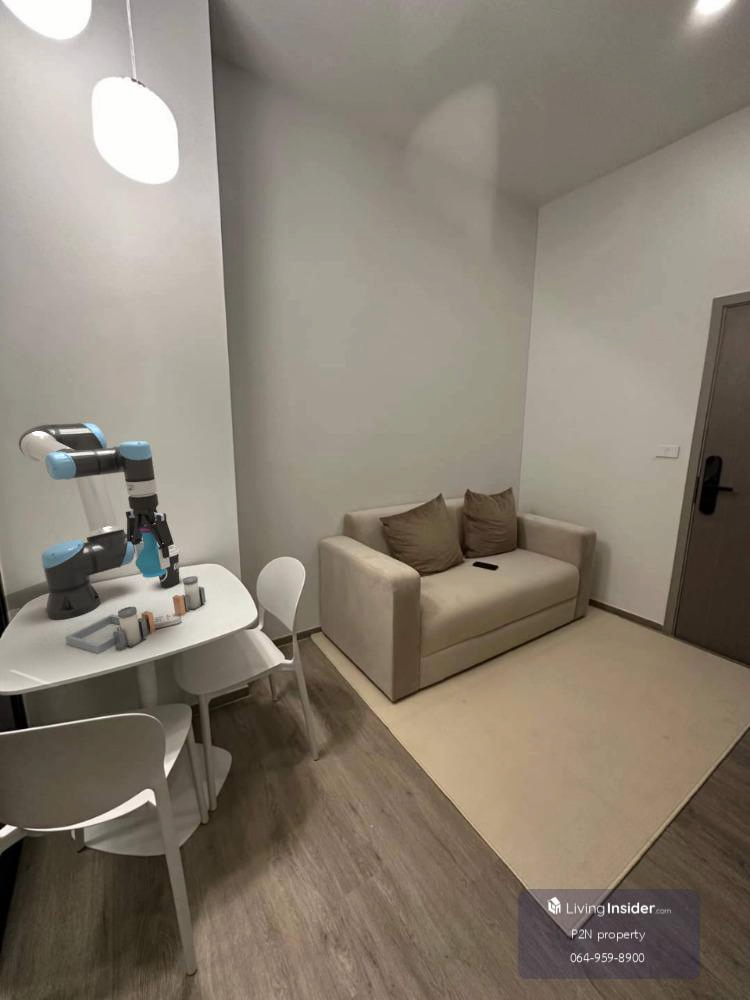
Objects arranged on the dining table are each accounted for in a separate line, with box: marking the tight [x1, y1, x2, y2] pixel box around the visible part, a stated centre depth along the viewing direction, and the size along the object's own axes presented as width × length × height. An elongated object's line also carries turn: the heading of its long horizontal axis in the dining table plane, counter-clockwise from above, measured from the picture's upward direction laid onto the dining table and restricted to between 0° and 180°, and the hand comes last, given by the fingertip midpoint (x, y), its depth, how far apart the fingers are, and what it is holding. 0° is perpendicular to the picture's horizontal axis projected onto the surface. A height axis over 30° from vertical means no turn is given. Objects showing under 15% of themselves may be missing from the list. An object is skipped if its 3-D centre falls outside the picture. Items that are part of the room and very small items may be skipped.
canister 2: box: [182, 575, 201, 609], centre depth 136 cm, size 5×5×10 cm
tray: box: [65, 613, 120, 655], centre depth 120 cm, size 14×14×3 cm
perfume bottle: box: [134, 525, 167, 579], centre depth 121 cm, size 9×9×15 cm
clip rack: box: [112, 586, 207, 651], centre depth 126 cm, size 6×31×7 cm, turn 158°
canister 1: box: [117, 606, 141, 646], centre depth 115 cm, size 5×5×10 cm
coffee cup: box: [158, 544, 181, 589], centre depth 155 cm, size 10×10×15 cm
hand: (153, 565), depth 122 cm, fingers closed on perfume bottle, 9 cm apart
